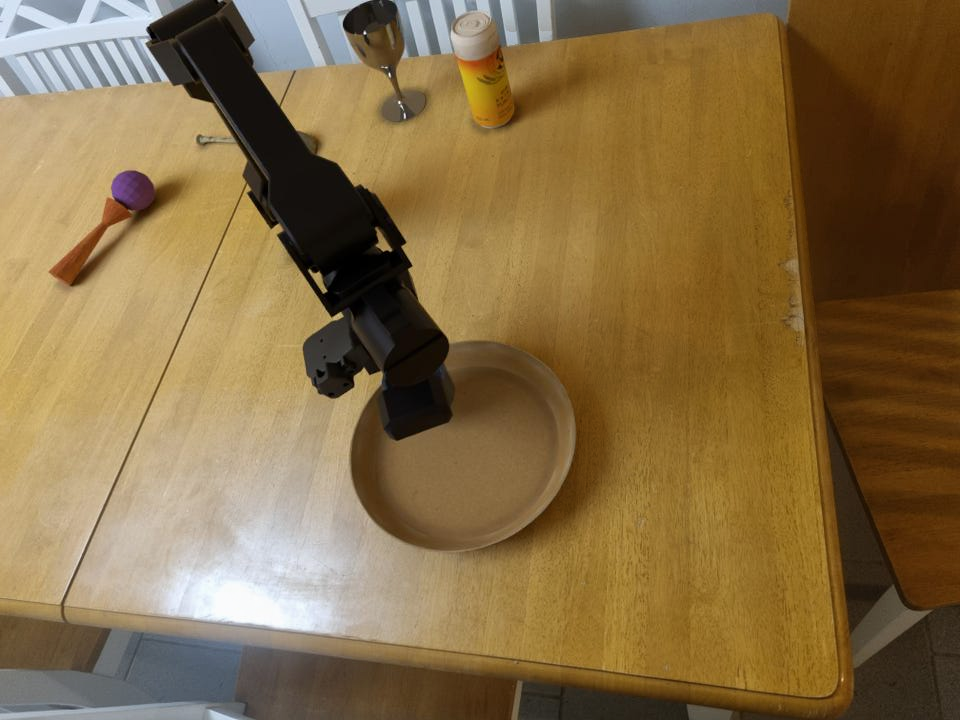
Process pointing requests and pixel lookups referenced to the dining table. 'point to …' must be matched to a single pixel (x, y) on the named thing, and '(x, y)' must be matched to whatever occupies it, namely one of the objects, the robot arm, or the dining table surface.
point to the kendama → (108, 220)
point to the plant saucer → (469, 454)
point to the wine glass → (383, 52)
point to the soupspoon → (201, 140)
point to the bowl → (440, 372)
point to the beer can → (482, 68)
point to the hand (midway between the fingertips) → (423, 389)
